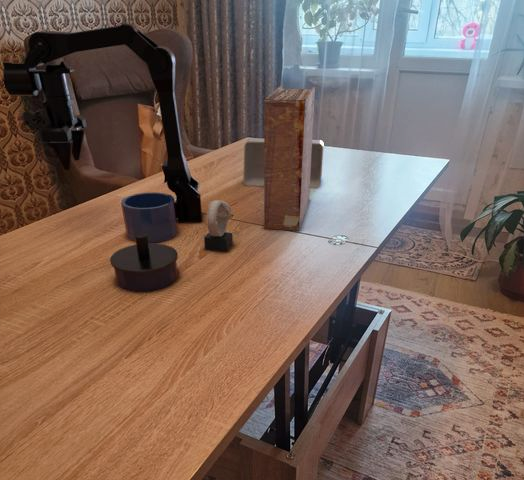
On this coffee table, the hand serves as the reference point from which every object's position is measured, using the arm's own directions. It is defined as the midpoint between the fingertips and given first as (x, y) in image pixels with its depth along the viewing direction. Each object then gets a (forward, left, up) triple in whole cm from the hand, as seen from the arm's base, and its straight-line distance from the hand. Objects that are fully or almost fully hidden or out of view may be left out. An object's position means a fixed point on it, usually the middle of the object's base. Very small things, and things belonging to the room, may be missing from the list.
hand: (72, 164), depth 121 cm
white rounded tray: (-57, -35, -15) cm, 69 cm away
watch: (-36, +20, -15) cm, 44 cm away
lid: (-21, +35, -10) cm, 42 cm away
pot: (-19, +10, -15) cm, 26 cm away
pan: (-21, +35, -15) cm, 44 cm away
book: (-55, -2, -15) cm, 57 cm away
